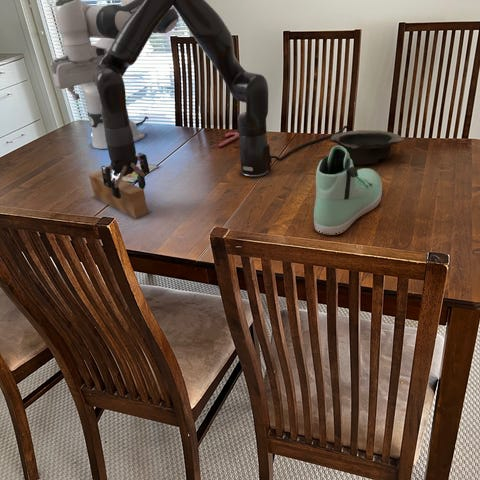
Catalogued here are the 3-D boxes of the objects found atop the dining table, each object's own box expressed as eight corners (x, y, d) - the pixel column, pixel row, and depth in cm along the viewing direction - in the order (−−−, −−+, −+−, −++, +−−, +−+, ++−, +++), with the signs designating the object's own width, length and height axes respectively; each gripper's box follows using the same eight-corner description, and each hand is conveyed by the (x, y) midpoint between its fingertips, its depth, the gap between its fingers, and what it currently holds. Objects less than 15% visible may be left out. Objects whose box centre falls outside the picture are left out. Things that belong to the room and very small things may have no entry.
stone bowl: (361, 175, 156) (361, 148, 152) (316, 158, 177) (315, 133, 172) (418, 157, 165) (419, 130, 161) (369, 142, 185) (369, 118, 181)
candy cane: (208, 146, 191) (208, 142, 190) (230, 134, 201) (230, 130, 201) (220, 148, 188) (220, 144, 187) (242, 136, 198) (242, 132, 197)
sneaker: (389, 187, 148) (396, 123, 138) (356, 242, 123) (361, 168, 112) (346, 181, 154) (350, 119, 144) (306, 232, 129) (307, 161, 118)
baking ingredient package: (112, 178, 168) (138, 163, 180) (113, 179, 168) (138, 164, 180) (133, 181, 165) (157, 165, 176) (133, 182, 165) (158, 166, 176)
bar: (94, 197, 158) (88, 174, 153) (106, 192, 160) (101, 170, 156) (135, 218, 143) (130, 194, 139) (148, 213, 145) (143, 189, 141)
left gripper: (54, 60, 147) (65, 105, 155) (110, 48, 159) (119, 90, 167) (44, 58, 151) (56, 102, 158) (100, 46, 163) (109, 88, 171)
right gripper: (105, 150, 128) (117, 205, 136) (148, 136, 136) (157, 188, 145) (90, 145, 133) (102, 198, 141) (133, 131, 141) (142, 181, 149)
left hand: (89, 96), depth 163 cm, fingers open, 8 cm apart
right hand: (130, 192), depth 143 cm, fingers open, 8 cm apart
